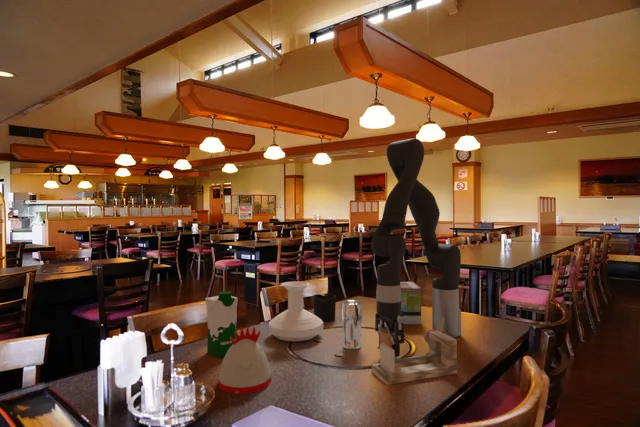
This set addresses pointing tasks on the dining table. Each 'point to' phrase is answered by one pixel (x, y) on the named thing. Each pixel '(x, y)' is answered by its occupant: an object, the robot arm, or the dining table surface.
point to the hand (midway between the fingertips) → (389, 351)
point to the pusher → (389, 359)
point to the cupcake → (426, 336)
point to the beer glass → (351, 323)
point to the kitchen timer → (245, 365)
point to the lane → (424, 362)
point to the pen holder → (325, 307)
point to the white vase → (295, 317)
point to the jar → (386, 338)
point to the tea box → (410, 303)
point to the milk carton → (221, 323)
